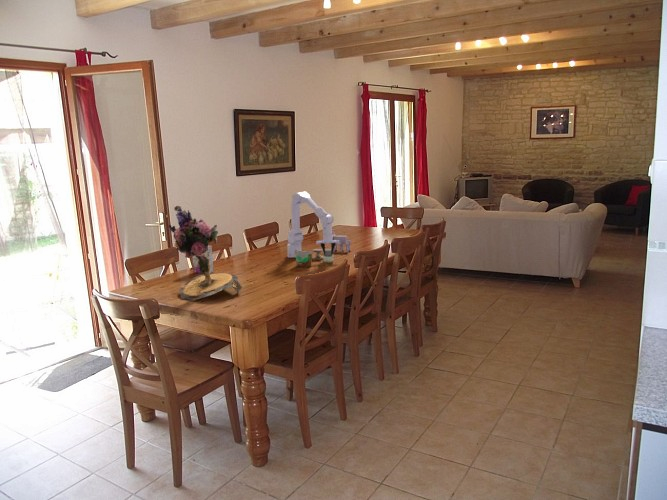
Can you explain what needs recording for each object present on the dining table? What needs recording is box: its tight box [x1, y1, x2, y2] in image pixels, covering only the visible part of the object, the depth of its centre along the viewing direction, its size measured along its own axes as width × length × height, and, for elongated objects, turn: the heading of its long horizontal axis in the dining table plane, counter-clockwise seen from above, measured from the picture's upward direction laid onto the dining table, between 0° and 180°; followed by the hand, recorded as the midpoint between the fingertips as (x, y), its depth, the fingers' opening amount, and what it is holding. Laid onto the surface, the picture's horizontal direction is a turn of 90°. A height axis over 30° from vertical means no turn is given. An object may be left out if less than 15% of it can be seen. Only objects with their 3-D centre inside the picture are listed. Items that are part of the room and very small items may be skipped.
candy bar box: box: [191, 245, 215, 274], centre depth 321 cm, size 11×5×16 cm, turn 74°
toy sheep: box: [332, 231, 352, 254], centre depth 371 cm, size 20×11×14 cm, turn 71°
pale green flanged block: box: [323, 254, 334, 263], centre depth 342 cm, size 6×8×4 cm
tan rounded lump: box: [312, 248, 324, 261], centre depth 349 cm, size 8×8×6 cm
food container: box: [294, 249, 314, 268], centre depth 329 cm, size 12×6×10 cm, turn 62°
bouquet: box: [168, 205, 243, 302], centre depth 275 cm, size 33×44×45 cm
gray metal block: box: [325, 248, 332, 257], centre depth 341 cm, size 4×4×5 cm
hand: (328, 255), depth 341 cm, fingers closed on gray metal block, 4 cm apart
